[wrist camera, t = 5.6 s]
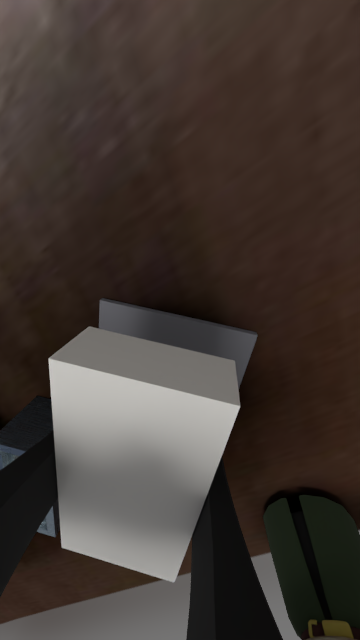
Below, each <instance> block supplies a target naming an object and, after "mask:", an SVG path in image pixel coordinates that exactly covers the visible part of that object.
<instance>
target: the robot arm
mask: <svg viewBox="0 0 360 640" xmlns="http://www.w3.org/2000/svg"><path fill="white" fill-rule="evenodd" d="M57 498H58V487H57V473H56V459H55V445H54V430H53V431H51V432H50V433H49V434H48V435H46V436H45V437H44V438H43V439H41V440H40V441H39V442H37V443H36V444H35V445H34V446H32V447H31V448H30V449H28V450H27V451H26V452H24V453H23V454H22V455H20V456H19V457H18V458H16V459H15V460H14V461H12V462H11V463H10V464H8V465H7V466H5V467H4V468H3V469H1V470H0V597H1V595H2V593H3V591H4V589H5V587H6V585H7V583H8V581H9V580H10V578H11V576H12V574H13V572H14V570H15V568H16V566H17V565H18V563H19V561H20V559H21V557H22V555H23V553H24V552H25V550H26V548H27V547H28V545H29V543H30V541H31V540H32V538H33V536H34V535H35V533H36V532H37V530H38V528H39V527H40V525H41V524H42V522H43V520H44V519H45V517H46V516H47V514H48V512H49V511H50V509H51V508H52V506H53V504H54V503H55V501H56V500H57ZM187 640H283V639H282V636H281V634H280V632H279V629H278V627H277V625H276V622H275V620H274V617H273V615H272V612H271V610H270V608H269V605H268V603H267V600H266V598H265V595H264V593H263V590H262V587H261V585H260V582H259V580H258V577H257V574H256V572H255V569H254V566H253V563H252V561H251V558H250V555H249V552H248V549H247V546H246V543H245V540H244V537H243V534H242V531H241V528H240V525H239V521H238V518H237V515H236V512H235V508H234V505H233V501H232V498H231V494H230V490H229V486H228V482H227V478H226V473H225V469H224V463H223V459H222V457H221V459H220V462H219V465H218V467H217V470H216V473H215V475H214V478H213V481H212V483H211V486H210V489H209V491H208V494H207V497H206V499H205V502H204V505H203V507H202V510H201V513H200V515H199V518H198V521H197V523H196V526H195V529H194V531H193V536H192V566H191V593H190V609H189V619H188V629H187Z"/></svg>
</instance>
